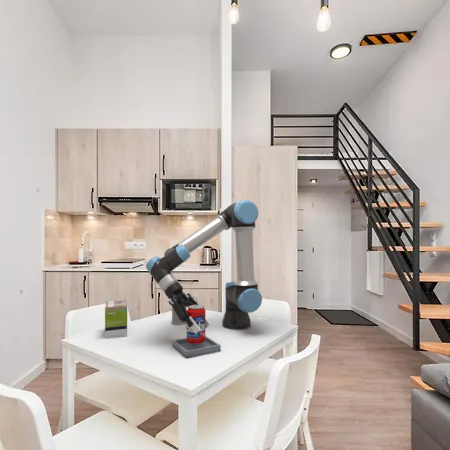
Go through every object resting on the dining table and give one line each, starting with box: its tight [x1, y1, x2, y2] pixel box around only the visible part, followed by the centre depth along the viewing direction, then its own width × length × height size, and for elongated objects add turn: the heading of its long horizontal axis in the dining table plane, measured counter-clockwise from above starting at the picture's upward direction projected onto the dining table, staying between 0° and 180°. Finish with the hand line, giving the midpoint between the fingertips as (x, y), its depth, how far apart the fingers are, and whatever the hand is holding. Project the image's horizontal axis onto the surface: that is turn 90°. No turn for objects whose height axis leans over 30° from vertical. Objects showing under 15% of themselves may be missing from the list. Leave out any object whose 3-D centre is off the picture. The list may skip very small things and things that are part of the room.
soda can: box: [185, 304, 206, 345], centre depth 124 cm, size 8×8×15 cm
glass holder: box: [171, 296, 198, 326], centre depth 164 cm, size 9×14×15 cm, turn 107°
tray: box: [172, 335, 222, 359], centre depth 124 cm, size 15×15×2 cm
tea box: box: [104, 299, 128, 339], centre depth 145 cm, size 15×10×15 cm, turn 21°
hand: (203, 328), depth 123 cm, fingers closed on soda can, 8 cm apart
